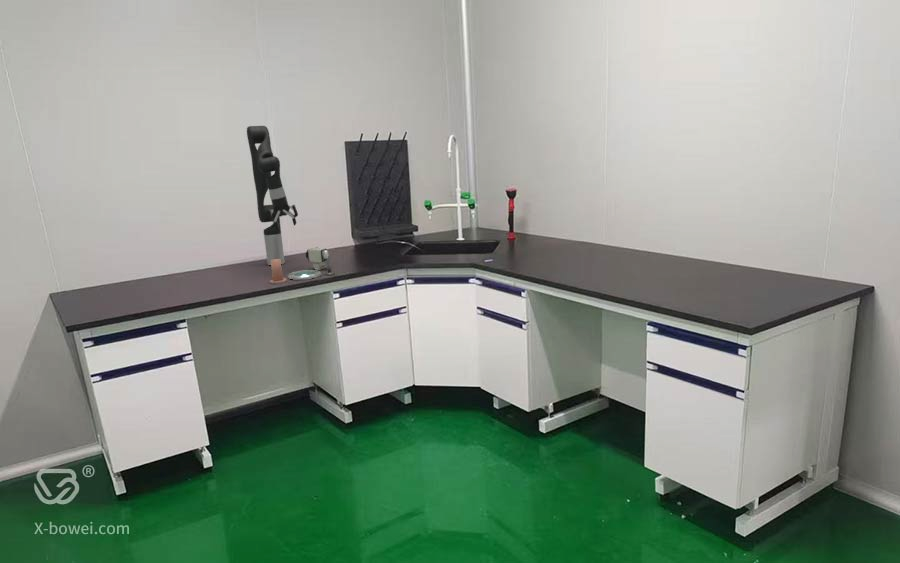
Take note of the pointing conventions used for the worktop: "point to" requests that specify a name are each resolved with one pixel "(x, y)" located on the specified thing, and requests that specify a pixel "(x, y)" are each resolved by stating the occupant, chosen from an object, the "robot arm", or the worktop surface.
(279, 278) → the cast cover
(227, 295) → the worktop surface
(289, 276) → the disc
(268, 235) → the robot arm
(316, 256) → the pneumatic valve
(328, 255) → the dial post
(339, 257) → the worktop surface
